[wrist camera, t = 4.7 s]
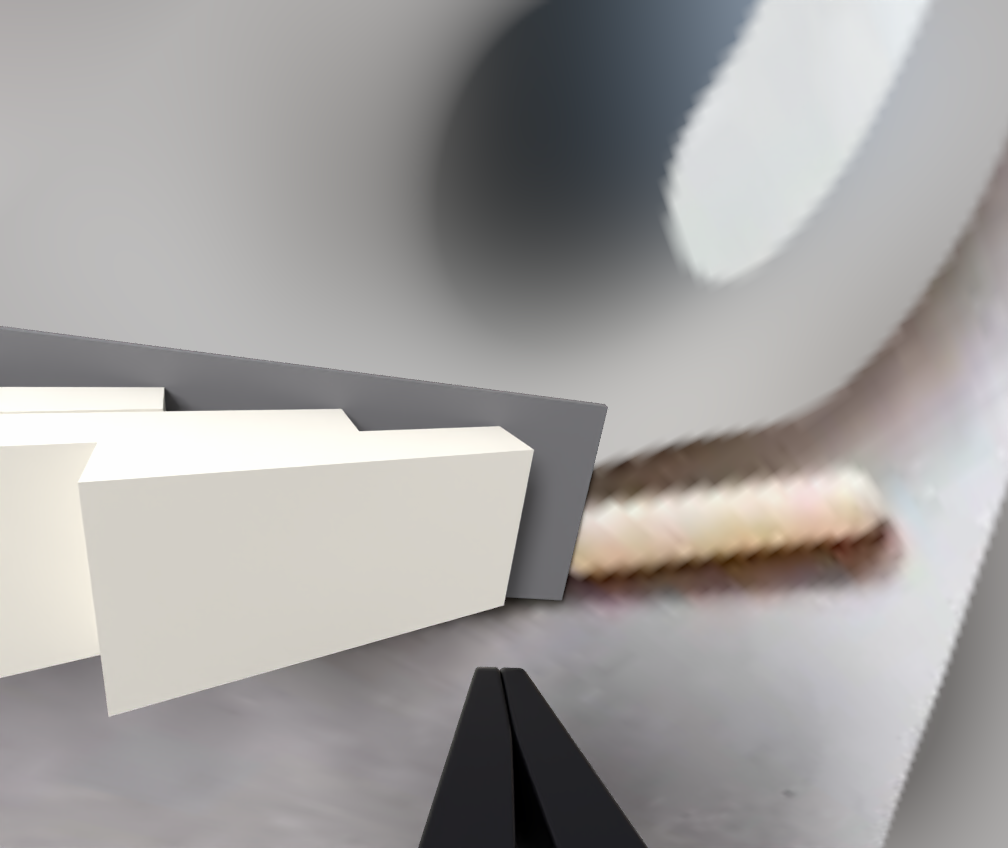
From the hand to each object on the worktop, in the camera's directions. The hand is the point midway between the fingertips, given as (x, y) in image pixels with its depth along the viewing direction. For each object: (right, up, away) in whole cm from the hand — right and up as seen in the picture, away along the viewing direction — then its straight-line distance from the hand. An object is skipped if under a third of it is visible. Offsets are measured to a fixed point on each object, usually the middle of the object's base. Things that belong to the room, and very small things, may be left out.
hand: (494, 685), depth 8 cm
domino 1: (0, +2, +6) cm, 6 cm away
